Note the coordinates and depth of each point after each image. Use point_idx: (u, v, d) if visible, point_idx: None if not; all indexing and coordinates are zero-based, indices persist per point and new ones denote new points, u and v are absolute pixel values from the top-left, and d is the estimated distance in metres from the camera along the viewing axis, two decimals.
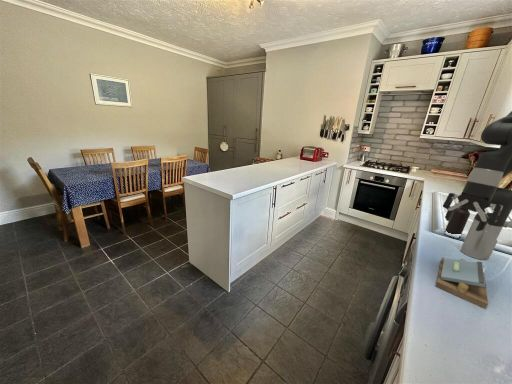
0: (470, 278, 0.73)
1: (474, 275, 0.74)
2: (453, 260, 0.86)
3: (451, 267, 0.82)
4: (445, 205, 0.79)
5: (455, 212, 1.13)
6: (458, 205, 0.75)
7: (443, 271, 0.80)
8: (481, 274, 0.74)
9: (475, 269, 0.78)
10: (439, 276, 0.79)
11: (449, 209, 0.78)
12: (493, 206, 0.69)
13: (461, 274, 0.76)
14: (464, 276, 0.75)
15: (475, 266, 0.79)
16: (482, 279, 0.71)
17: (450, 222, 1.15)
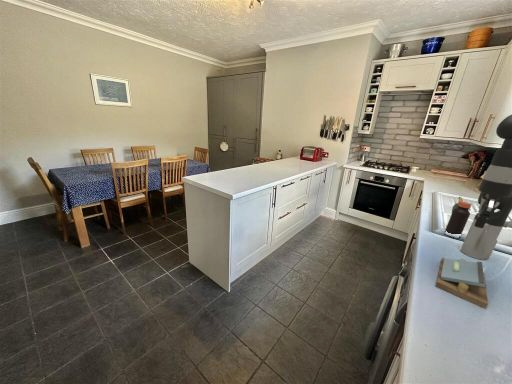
0: (470, 278, 0.73)
1: (474, 275, 0.74)
2: (453, 260, 0.86)
3: (451, 267, 0.82)
4: (479, 210, 0.75)
5: (455, 212, 1.13)
6: (480, 205, 0.73)
7: (443, 271, 0.80)
8: (481, 274, 0.74)
9: (475, 269, 0.78)
10: (439, 276, 0.79)
11: (478, 214, 0.74)
12: (488, 205, 0.68)
13: (461, 274, 0.76)
14: (464, 276, 0.75)
15: (475, 266, 0.79)
16: (482, 279, 0.71)
17: (450, 222, 1.15)
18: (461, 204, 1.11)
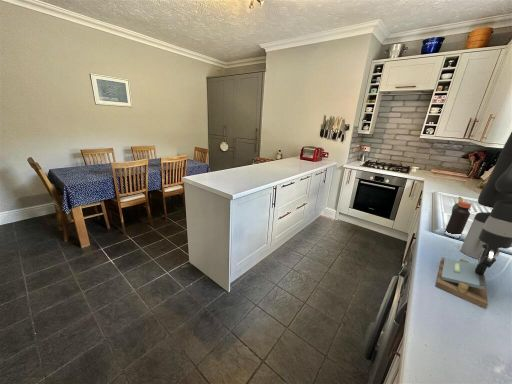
0: (471, 280, 0.73)
1: (474, 278, 0.74)
2: (453, 261, 0.86)
3: (451, 268, 0.81)
4: (479, 256, 0.77)
5: (455, 212, 1.13)
6: (480, 252, 0.76)
7: (443, 271, 0.80)
8: (482, 277, 0.74)
9: None
10: (439, 276, 0.79)
11: (478, 260, 0.76)
12: (488, 255, 0.70)
13: (461, 275, 0.76)
14: (465, 277, 0.75)
15: None
16: (483, 282, 0.71)
17: (450, 222, 1.15)
18: (461, 204, 1.11)
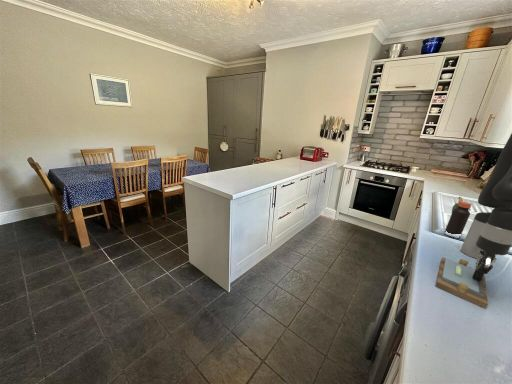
0: (471, 285, 0.73)
1: (474, 283, 0.75)
2: (454, 263, 0.86)
3: (452, 270, 0.81)
4: (476, 262, 0.78)
5: (455, 212, 1.13)
6: (477, 259, 0.76)
7: (445, 272, 0.80)
8: (482, 284, 0.74)
9: None
10: (439, 276, 0.79)
11: (476, 266, 0.77)
12: (485, 262, 0.71)
13: (462, 279, 0.76)
14: (465, 282, 0.75)
15: None
16: (483, 289, 0.71)
17: (450, 222, 1.15)
18: (461, 204, 1.11)
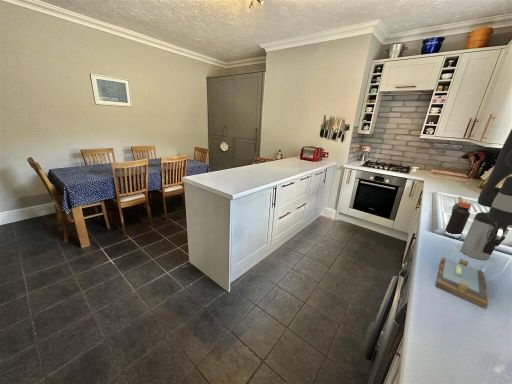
0: (471, 285, 0.73)
1: (474, 283, 0.75)
2: (454, 263, 0.86)
3: (452, 270, 0.81)
4: (487, 235, 0.75)
5: (455, 212, 1.13)
6: (488, 231, 0.73)
7: (445, 272, 0.80)
8: (482, 284, 0.74)
9: (475, 277, 0.78)
10: (439, 276, 0.79)
11: (486, 240, 0.74)
12: (496, 233, 0.68)
13: (462, 279, 0.76)
14: (465, 282, 0.75)
15: (475, 275, 0.80)
16: (483, 289, 0.71)
17: (450, 222, 1.15)
18: (461, 204, 1.11)
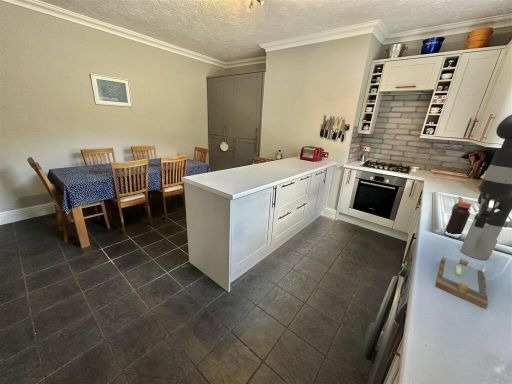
0: (471, 285, 0.73)
1: (474, 283, 0.75)
2: (454, 263, 0.86)
3: (452, 270, 0.81)
4: (479, 210, 0.75)
5: (455, 212, 1.13)
6: (480, 205, 0.73)
7: (445, 272, 0.80)
8: (482, 284, 0.74)
9: (475, 277, 0.78)
10: (439, 276, 0.79)
11: (478, 214, 0.74)
12: (488, 205, 0.68)
13: (462, 279, 0.76)
14: (465, 282, 0.75)
15: (475, 275, 0.80)
16: (483, 289, 0.71)
17: (450, 222, 1.15)
18: (461, 204, 1.11)
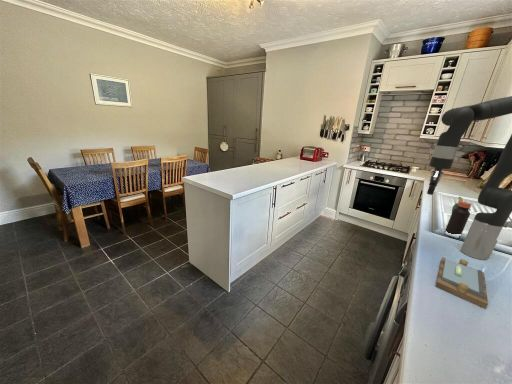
0: (471, 285, 0.73)
1: (474, 283, 0.75)
2: (454, 263, 0.86)
3: (452, 270, 0.81)
4: None
5: (455, 212, 1.13)
6: None
7: (445, 272, 0.80)
8: (482, 284, 0.74)
9: (475, 277, 0.78)
10: (439, 276, 0.79)
11: None
12: (434, 175, 0.90)
13: (462, 279, 0.76)
14: (465, 282, 0.75)
15: (475, 275, 0.80)
16: (483, 289, 0.71)
17: (450, 222, 1.15)
18: (461, 204, 1.11)
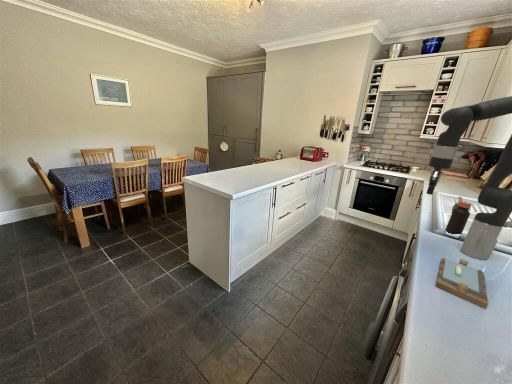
0: (471, 285, 0.73)
1: (474, 283, 0.75)
2: (454, 263, 0.86)
3: (452, 270, 0.81)
4: None
5: (455, 212, 1.13)
6: None
7: (445, 272, 0.80)
8: (482, 284, 0.74)
9: (475, 277, 0.78)
10: (439, 276, 0.79)
11: None
12: (433, 175, 0.91)
13: (462, 279, 0.76)
14: (465, 282, 0.75)
15: (475, 275, 0.80)
16: (483, 289, 0.71)
17: (450, 222, 1.15)
18: (461, 204, 1.11)
